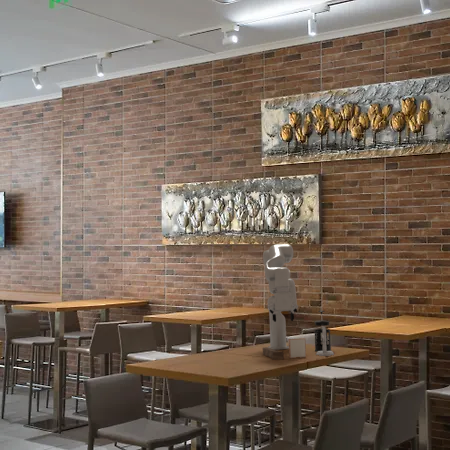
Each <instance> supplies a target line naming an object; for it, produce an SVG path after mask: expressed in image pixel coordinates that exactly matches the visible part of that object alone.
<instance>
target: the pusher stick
mask: <svg viewBox="0 0 450 450" xmlns="http://www.w3.org/2000/svg"><path fill="white" fill-rule="evenodd" d="M268 347H269V346H266V347H262V355H263V356H265V357H268V358H270V359H271V360H272V361H275V360H284V358H285V357H284V351H283V350H282V351H280V350H274V349H271V348H268Z"/></svg>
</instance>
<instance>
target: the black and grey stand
mask: <svg viewBox="0 0 450 450" xmlns="http://www.w3.org/2000/svg"><path fill="white" fill-rule="evenodd" d="M322 328H323V336H322V335H321V339H322V340H323V341H322V344H323V351H318V352H316V353H315V356H317V355H319V357H329V356H330V357H331V355H332V356H334V355H335V354H334V352H333V350H331V351H327V347H326V329H327V328H326V326H322Z"/></svg>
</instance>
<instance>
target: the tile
mask: <svg viewBox="0 0 450 450" xmlns="http://www.w3.org/2000/svg"><path fill="white" fill-rule="evenodd" d="M306 342H307V341H306V338H305V337H303V338H302V337H301V338H288V346H289V348H288V358H289V359H297V358H296V357H300V358H307V347H306Z"/></svg>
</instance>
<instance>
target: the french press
mask: <svg viewBox="0 0 450 450" xmlns="http://www.w3.org/2000/svg"><path fill="white" fill-rule="evenodd" d="M317 312H318V313H320V315H321V318H323V312H326V311H325V310H318V311H317ZM313 323H314V326H316V327H319V326H321V329H320V328H317V329H314V344H315V345H314V352H316V351H317V352H318V351H323V340H322V336H323V327H326V326H330V323H331V320H324V319H321V320H315V321H314V322H313ZM331 344H332V343H331V329H328V328H326V347H327V351H332V347H331ZM317 352H316V353H317Z"/></svg>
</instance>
